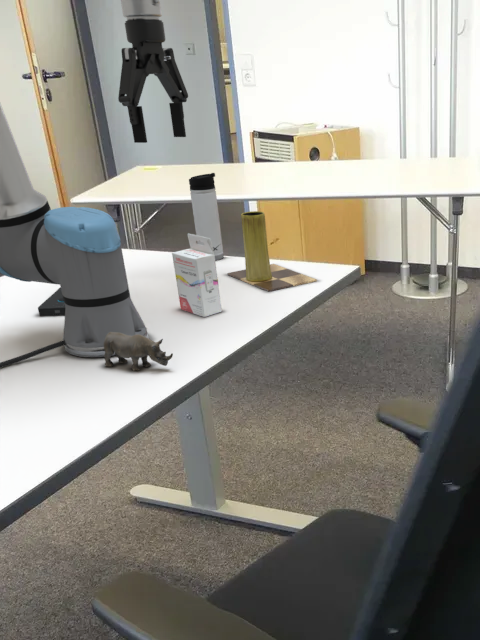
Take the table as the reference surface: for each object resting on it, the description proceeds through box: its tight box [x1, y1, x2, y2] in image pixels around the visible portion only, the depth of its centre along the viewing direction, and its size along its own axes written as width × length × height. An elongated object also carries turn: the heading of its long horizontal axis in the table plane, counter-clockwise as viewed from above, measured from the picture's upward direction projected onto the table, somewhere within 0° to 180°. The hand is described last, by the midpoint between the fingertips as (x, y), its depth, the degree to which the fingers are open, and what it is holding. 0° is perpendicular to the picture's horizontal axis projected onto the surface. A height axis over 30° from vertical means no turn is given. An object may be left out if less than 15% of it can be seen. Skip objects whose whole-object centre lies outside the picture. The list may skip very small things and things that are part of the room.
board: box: [227, 263, 318, 293], centre depth 179 cm, size 13×20×1 cm, turn 36°
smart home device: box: [37, 286, 66, 317], centre depth 167 cm, size 8×2×20 cm
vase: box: [240, 210, 272, 282], centre depth 174 cm, size 6×6×14 cm
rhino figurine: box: [104, 332, 174, 371], centre depth 131 cm, size 4×14×6 cm, turn 69°
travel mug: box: [188, 172, 224, 261], centre depth 192 cm, size 6×7×20 cm
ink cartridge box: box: [171, 232, 223, 318], centre depth 155 cm, size 9×5×15 cm, turn 47°
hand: (161, 139), depth 162 cm, fingers open, 13 cm apart
